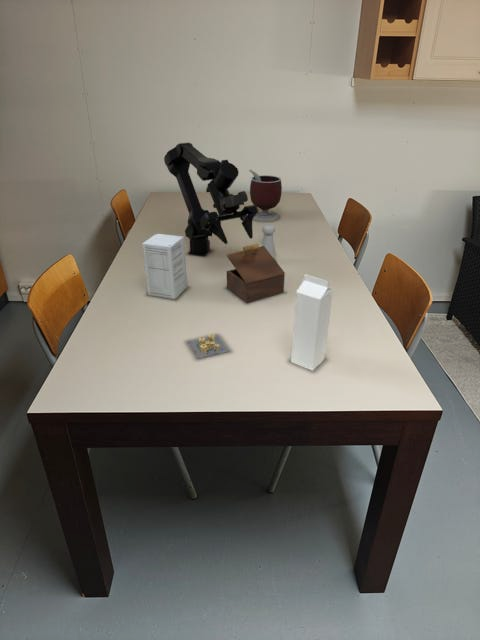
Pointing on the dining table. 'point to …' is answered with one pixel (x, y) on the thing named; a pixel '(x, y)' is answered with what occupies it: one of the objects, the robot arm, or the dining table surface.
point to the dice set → (207, 346)
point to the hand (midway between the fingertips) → (239, 240)
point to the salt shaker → (269, 239)
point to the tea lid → (255, 264)
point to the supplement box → (165, 265)
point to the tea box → (254, 287)
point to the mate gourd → (265, 195)
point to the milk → (311, 322)
